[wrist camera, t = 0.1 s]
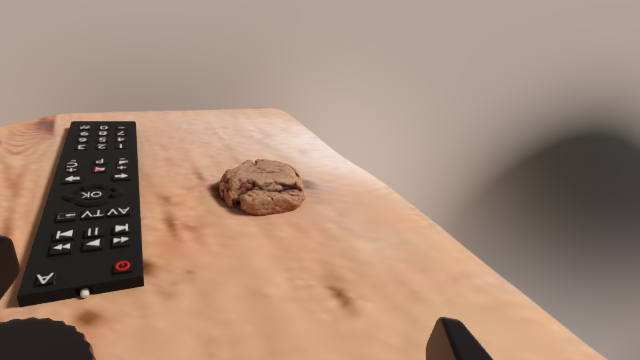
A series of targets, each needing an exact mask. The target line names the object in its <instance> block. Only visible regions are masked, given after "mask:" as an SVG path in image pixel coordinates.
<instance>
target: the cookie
mask: <svg viewBox="0 0 640 360" xmlns="http://www.w3.org/2000/svg"><path fill="white" fill-rule="evenodd" d="M255 163H256V164H255ZM255 163H254V162H252V160H247V161H245V162H243V163H242V164H241V165H240V166H238V167H237V168H234V169H232V170H231V169H228V170H227V171H226V172H225V174H224V175H223V176H222V178H221V180H220V184H219V190H220V191H219V192H220V195H221V197H222V198H223V199H224V201H226V203H227V206H229V207H231V208H232V207H238V209H239V210H240V209H241V210H242V211H243V212H245V213H249V214H252V215H258V216H265V215H272V214H280V213H285V212H289V211H292V210H295V209H297V208H298V207H300V205H301V203H302V202H303V201H304V200H305V196H304V191H303V183H302V181H301V178H300V175H299V173H298V171H297V170H296V169H295V168H293V167H292V166H290V165H288V164H284V163H281V162H278V161H272V160H263V159H257V160H255Z"/></svg>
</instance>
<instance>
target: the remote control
mask: <svg viewBox="0 0 640 360" xmlns="http://www.w3.org/2000/svg"><path fill="white" fill-rule="evenodd" d="M141 286H144V276H143V256H142V236H141V216H140V196H139V176H138V156H137V136H136V122H135V121H73V122H71V125H70V128H69V132H68V135H67V138H66V141H65V144H64V148H63V151H62V154H61V157H60V160H59V164H58V167H57V170H56V173H55V177H54V180H53V183H52V186H51V189H50V193H49V196H48V199H47V202H46V205H45V209H44V212H43V215H42V218H41V222H40V225H39V228H38V231H37V234H36V238H35V241H34V244H33V247H32V250H31V254H30V257H29V260H28V263H27V266H26V270H25V273H24V276H23V279H22V283H21V286H20V289H19V292H18V295H17V299H18V302H19V305H20V307H25V306H31V305H36V304H42V303H48V302H54V301H60V300H66V299H71V298H76V295H80V296H81V297H82V298H86V297H88V296H89V293H92V292H93V293H94V295H95V294H101V293H106V292H112V291H118V290H124V289H130V288H135V287H141Z"/></svg>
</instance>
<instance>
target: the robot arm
mask: <svg viewBox="0 0 640 360" xmlns="http://www.w3.org/2000/svg"><path fill="white" fill-rule="evenodd" d="M19 271H20V266H19V262H18V258H17V255H16V251H15V248H14V244H13V242H12V240H11V239H10V238H8V237H6V236H1V235H0V300H1V298H2V297H3V296H4V294H5V293H6V292H7V290H8V289H9V288H10V286H11V285H12V284H13V283H14V281H15V280H16V278H17V276H18V274H19ZM426 360H493V359H492V358H491V356H490V355H489V354H488V353H487V352H486V350H485V349H484V348H483V347H482V346H481V344H480V343H479V342H478V341H477V340H476V338H475V337H474V336H473V335H472V334H471V333H470V331H469V330H468V329H467V328H466V327H465V325H464V324H463V323H462V322H461V321H459V320H457V319H452V318H446V317H440V318H439V319H438V320H437V321H436V324H435V326H434V328H433V330H432V333H431V335H430V337H429V340H428V342H427V346H426Z"/></svg>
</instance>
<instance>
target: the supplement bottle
mask: <svg viewBox="0 0 640 360" xmlns="http://www.w3.org/2000/svg"><path fill="white" fill-rule="evenodd" d="M0 360H96V359H95V357H94V353H93V348H92V346H91V344H90V343H89V342H87V341H86V337H85V335H84V334H83V333H80V332H78V331H77V330H76V328H75V326H70V325H66V324H65V323H64V322H63V321H53V320H52V319H50V318H43V319H37V318H34V317H31V318H27V319H13V320H10V321H7V322H0Z"/></svg>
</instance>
